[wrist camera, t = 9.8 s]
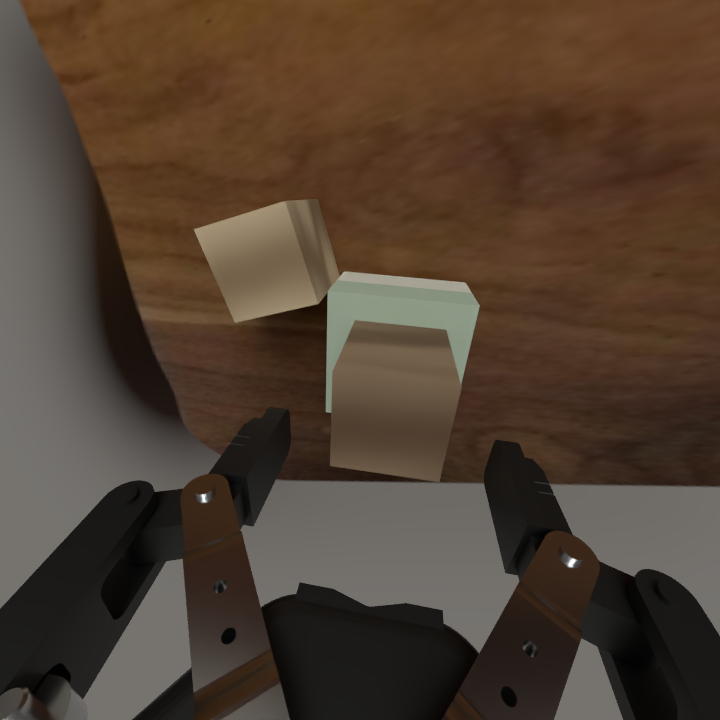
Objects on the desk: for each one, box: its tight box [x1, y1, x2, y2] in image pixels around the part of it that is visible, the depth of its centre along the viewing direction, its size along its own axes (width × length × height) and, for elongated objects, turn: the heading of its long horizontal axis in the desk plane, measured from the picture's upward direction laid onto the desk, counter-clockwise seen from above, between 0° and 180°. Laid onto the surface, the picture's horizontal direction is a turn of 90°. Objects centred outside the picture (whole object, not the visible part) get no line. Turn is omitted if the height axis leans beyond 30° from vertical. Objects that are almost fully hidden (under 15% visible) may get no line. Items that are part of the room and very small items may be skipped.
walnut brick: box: [330, 320, 462, 482], centre depth 17 cm, size 5×5×6 cm
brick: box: [194, 199, 340, 323], centre depth 19 cm, size 5×5×6 cm
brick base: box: [326, 272, 479, 413], centre depth 21 cm, size 8×8×5 cm
